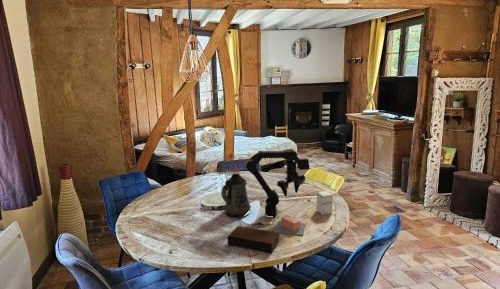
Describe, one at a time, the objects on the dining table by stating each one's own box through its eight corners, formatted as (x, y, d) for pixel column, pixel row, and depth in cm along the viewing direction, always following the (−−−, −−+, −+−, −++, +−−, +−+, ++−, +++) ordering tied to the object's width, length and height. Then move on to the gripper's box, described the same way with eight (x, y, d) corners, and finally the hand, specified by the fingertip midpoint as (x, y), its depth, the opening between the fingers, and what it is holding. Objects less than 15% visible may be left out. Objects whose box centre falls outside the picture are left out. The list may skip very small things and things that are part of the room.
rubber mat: (273, 232, 184) (273, 231, 184) (277, 221, 197) (277, 220, 197) (302, 235, 180) (302, 234, 180) (305, 224, 194) (305, 223, 193)
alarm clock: (278, 243, 174) (278, 232, 173) (271, 254, 163) (271, 243, 162) (237, 235, 182) (236, 225, 181) (227, 246, 172) (227, 235, 170)
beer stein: (253, 208, 217) (253, 171, 211) (245, 221, 198) (244, 181, 193) (229, 206, 221) (228, 169, 216) (219, 218, 203) (217, 179, 197)
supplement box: (321, 215, 206) (322, 195, 203) (316, 210, 213) (316, 191, 210) (332, 213, 208) (333, 194, 205) (326, 209, 215) (327, 190, 212)
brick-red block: (281, 217, 190) (293, 223, 183) (287, 215, 193) (300, 220, 186) (281, 225, 191) (293, 231, 184) (287, 223, 194) (300, 229, 187)
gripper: (290, 176, 189) (289, 202, 193) (312, 170, 201) (311, 194, 204) (276, 172, 198) (276, 196, 201) (298, 166, 209) (297, 189, 213)
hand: (291, 194), depth 205 cm, fingers open, 9 cm apart
